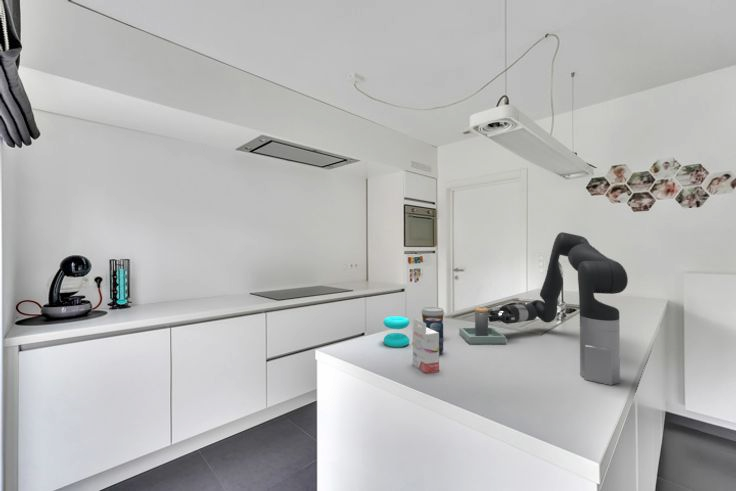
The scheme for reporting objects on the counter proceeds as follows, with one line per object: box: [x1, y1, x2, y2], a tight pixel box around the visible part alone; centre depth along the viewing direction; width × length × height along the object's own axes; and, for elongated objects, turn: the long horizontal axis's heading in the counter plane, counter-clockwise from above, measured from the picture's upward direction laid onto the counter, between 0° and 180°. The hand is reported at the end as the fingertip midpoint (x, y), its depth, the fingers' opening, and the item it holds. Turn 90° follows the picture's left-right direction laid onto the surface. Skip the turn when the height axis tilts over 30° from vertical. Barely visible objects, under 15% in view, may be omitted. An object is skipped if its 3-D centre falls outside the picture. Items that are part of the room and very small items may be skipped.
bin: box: [458, 327, 507, 346], centre depth 129 cm, size 14×14×3 cm
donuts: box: [382, 315, 410, 348], centre depth 123 cm, size 10×10×10 cm
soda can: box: [424, 317, 444, 356], centre depth 113 cm, size 7×7×12 cm
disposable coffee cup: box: [420, 306, 446, 324], centre depth 131 cm, size 10×10×12 cm
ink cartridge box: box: [412, 318, 440, 374], centre depth 99 cm, size 9×5×15 cm, turn 21°
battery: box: [474, 305, 489, 336], centre depth 129 cm, size 5×5×13 cm
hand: (482, 316), depth 129 cm, fingers open, 8 cm apart
